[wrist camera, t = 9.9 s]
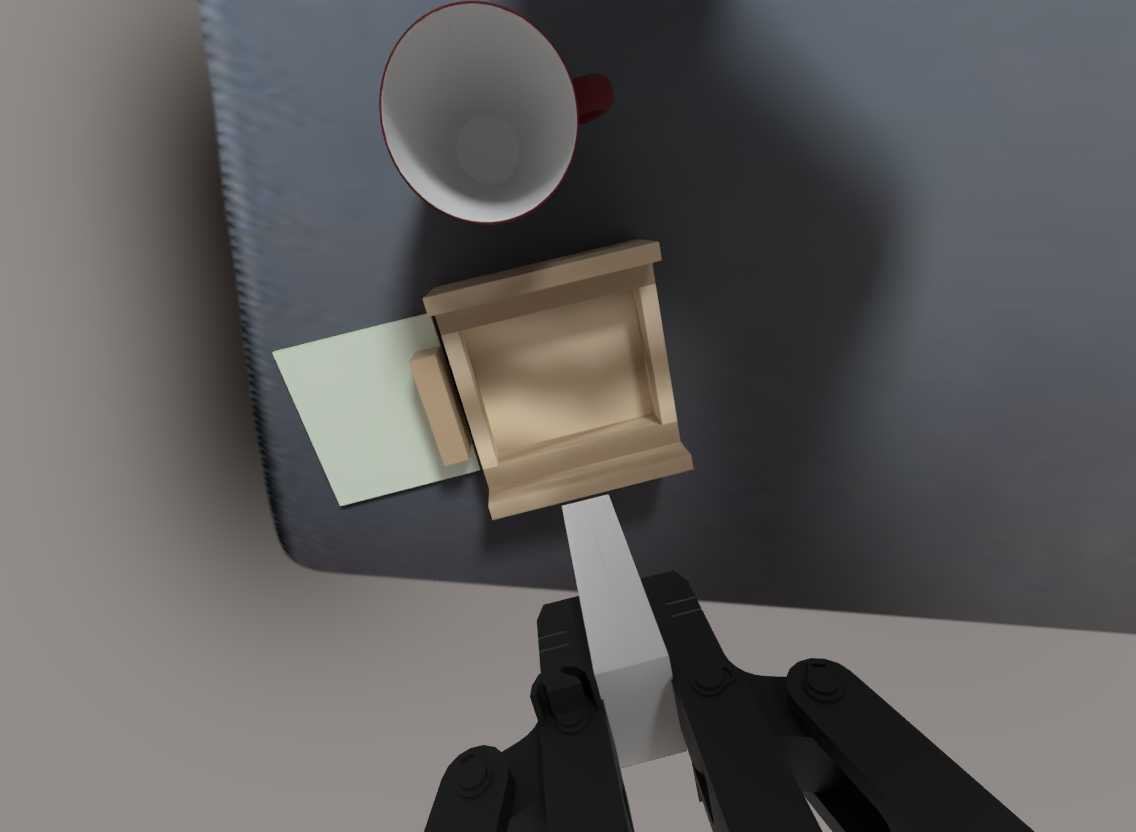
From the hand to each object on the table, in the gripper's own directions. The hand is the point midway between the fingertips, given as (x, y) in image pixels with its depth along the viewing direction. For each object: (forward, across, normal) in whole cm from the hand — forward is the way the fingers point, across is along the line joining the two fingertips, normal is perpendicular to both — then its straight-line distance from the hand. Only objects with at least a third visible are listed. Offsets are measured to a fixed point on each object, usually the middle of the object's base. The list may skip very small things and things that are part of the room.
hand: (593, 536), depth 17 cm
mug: (+21, +1, +14) cm, 25 cm away
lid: (+21, -11, 0) cm, 24 cm away
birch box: (+20, +1, 0) cm, 20 cm away
